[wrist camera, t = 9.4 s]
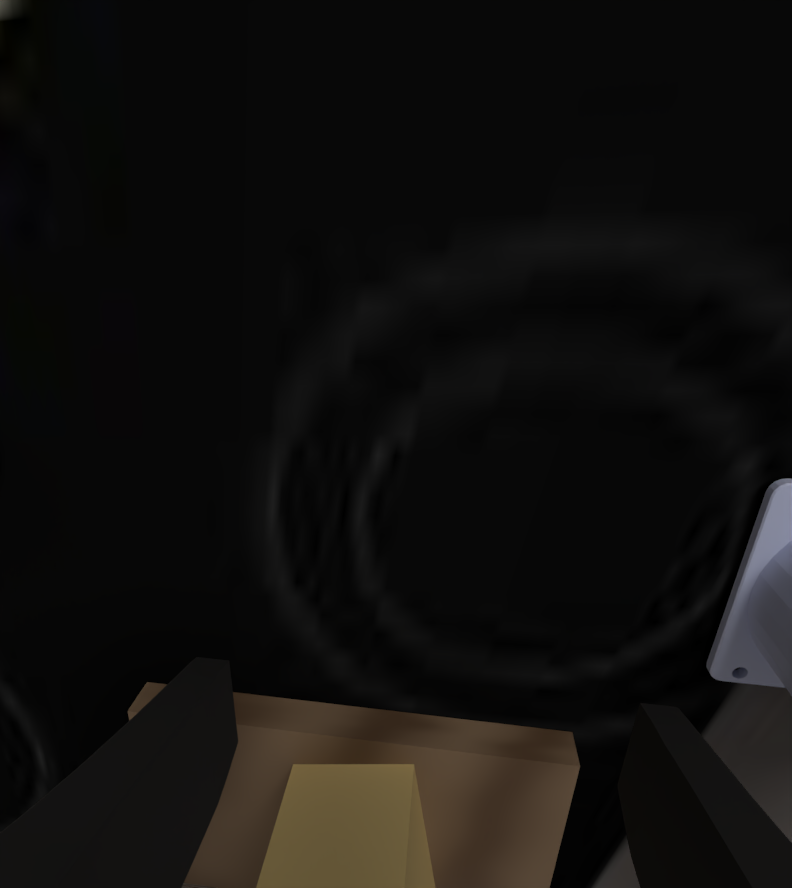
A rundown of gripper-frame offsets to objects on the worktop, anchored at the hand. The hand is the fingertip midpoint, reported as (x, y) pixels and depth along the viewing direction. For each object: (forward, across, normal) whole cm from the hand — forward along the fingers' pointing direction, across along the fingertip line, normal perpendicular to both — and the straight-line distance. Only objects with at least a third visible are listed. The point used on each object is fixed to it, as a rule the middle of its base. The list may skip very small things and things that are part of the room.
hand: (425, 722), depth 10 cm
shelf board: (+9, +3, +17) cm, 19 cm away
